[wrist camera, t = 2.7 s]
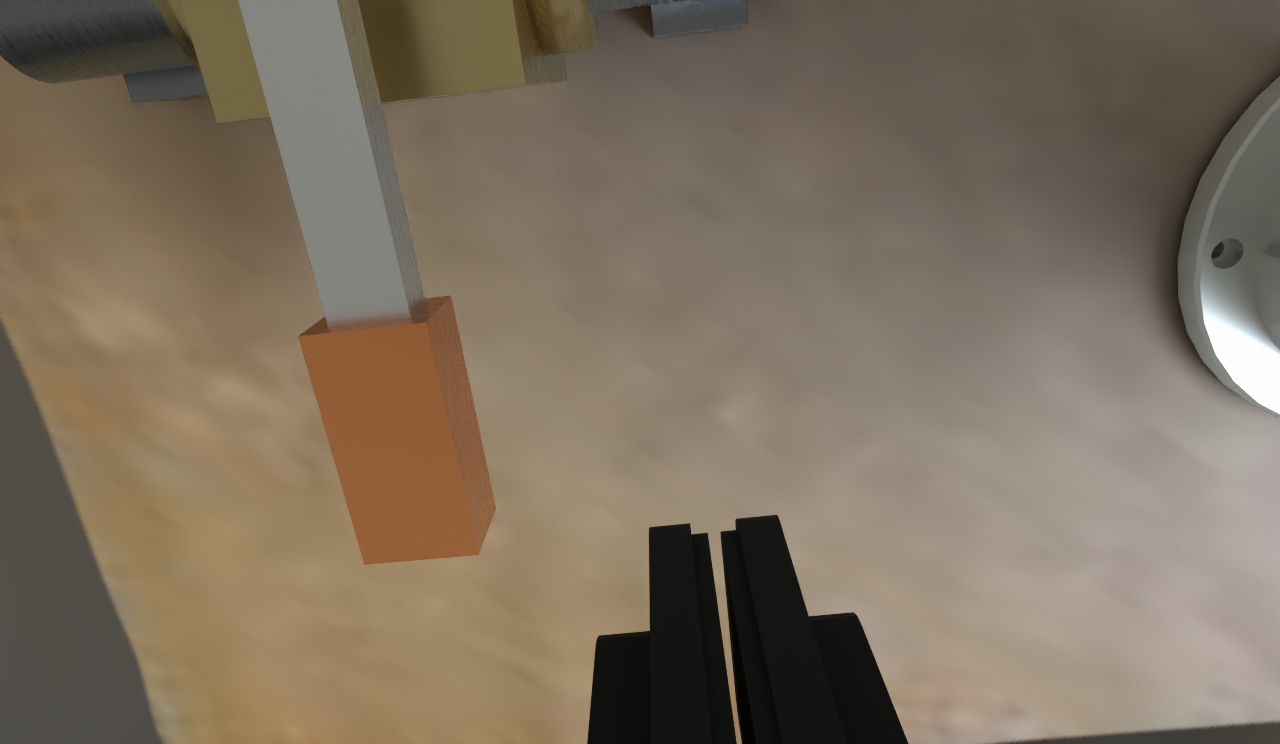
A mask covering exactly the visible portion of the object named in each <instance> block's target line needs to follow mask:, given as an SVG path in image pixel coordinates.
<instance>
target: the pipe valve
mask: <svg viewBox="0 0 1280 744" xmlns="http://www.w3.org/2000/svg"><path fill="white" fill-rule="evenodd" d="M358 2H359V6H360V11H361V15H362V20H363V24H364V29H365V33H366V37H367V42H368V46H369V51H370V55H371V60H372V64H373V69H374V73H375V78H376V82H377V86H378V91H379V95H380V100H381V104H386V103H394V102H402V101H410V100H418V99H426V98H434V97H442V96H450V95H458V94H466V93H474V92H482V91H490V90H498V89H505V88H513V87H521V86H529V85H537V84H545V83H553V82H561V81H567V78H566V71H565V64H564V57H563V54H564V53H572V52H580V51H588V50H595V49H597V47H598V19H597V12H603V11H610V10H618V9H625V8H633V7H641V6H648V5H651V13H652V23H653V33H654V39H657V38H665V37H673V36H680V35H688V34H696V33H704V32H712V31H719V30H727V29H735V28H741V27H743V26H745V25H746V24H748V15H747V0H358ZM0 55H1V56H2V57H3V58H4V59H5V60H6V61H7V62H9V63H10V64H11V65H12V66H13V67H15V68H16V69H18V70H19V71H21V72H22V73H24V74H26V75H27V76H29V77H31V78H34V79H36V80H39V81H42V82H46V83H62V82H69V81H77V80H84V79H92V78H100V77H107V76H115V75H124V78H125V81H126V84H127V87H128V90H129V93H130V96H131V99H132V102H133V103H136V102H154V101H171V100H182V99H190V98H197V97H205V96H209V99H210V102H211V105H212V109H213V112H214V115H215V119H216V122H217V123H224V122H233V121H241V120H250V119H259V118H268V117H270V114H269V110H268V107H267V103H266V99H265V96H264V92H263V89H262V85H261V81H260V78H259V74H258V70H257V67H256V63H255V59H254V56H253V52H252V49H251V45H250V41H249V38H248V34H247V30H246V27H245V23H244V19H243V16H242V12H241V8H240V5H239V1H238V0H0Z"/></svg>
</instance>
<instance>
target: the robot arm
mask: <svg viewBox="0 0 1280 744" xmlns="http://www.w3.org/2000/svg"><path fill="white" fill-rule="evenodd" d="M1178 298H1179V302H1180V306H1181V310H1182V314H1183V318H1184V323H1185V327H1186V331H1187V333H1188V335H1189V337H1190V339H1191V340H1192V342H1193V344H1194V346H1195V348H1196V350H1197V352H1198V354H1199V356H1200V358H1201V360H1202V361H1203V362H1204V363H1205V364H1206V365H1207V367H1208V368H1209V369H1210V370H1211V371H1212V372H1213V373H1214V374H1215V376H1216V377H1217V378H1218V379H1219V380H1220V381H1221V382H1222V383H1223V384H1224V385H1225V386H1227V387H1228V388H1229V389H1231V390H1232V391H1234V392H1235V393H1237V394H1238V395H1240V396H1241V397H1243V398H1244V399H1246V400H1247V401H1249V402H1250V403H1252V404H1254V405H1256V406H1257V407H1259V408H1261V409H1263V410H1265V411H1267V412H1269V413H1270V414H1272V415H1274V416H1276V417H1278V418H1280V76H1279V77H1278V78H1277V79H1276V80H1275V81H1274V82H1273V83H1272V84H1270V85H1269V86H1268V87H1267V88H1266V89H1265V90H1264V91H1263V92H1262V93H1261V94H1260V95H1259V96H1258V97H1257V98H1256V99H1255V100H1254V101H1253V102H1252V104H1251V105H1250V106H1249V107H1248V109H1247V110H1246V111H1245V112H1244V114H1243V115H1242V116H1241V117H1240V119H1239V120H1238V121H1237V122H1236V124H1235V125H1234V126H1233V127H1232V129H1231V130H1230V131H1229V132H1228V134H1227V135H1226V136H1225V137H1224V139H1223V141H1222V143H1221V144H1220V146H1219V148H1218V149H1217V151H1216V153H1215V155H1214V156H1213V158H1212V160H1211V162H1210V163H1209V165H1208V167H1207V168H1206V170H1205V172H1204V174H1203V175H1202V177H1201V179H1200V182H1199V184H1198V187H1197V190H1196V192H1195V195H1194V198H1193V200H1192V203H1191V205H1190V208H1189V211H1188V213H1187V216H1186V219H1185V223H1184V228H1183V234H1182V239H1181V245H1180V250H1179V255H1178ZM735 522H736V530H732V531H722V532H721V544H722V554H723V565H724V576H725V587H726V597H727V608H728V619H729V630H730V641H731V651H732V662H733V673H734V684H735V694H736V703H737V712H738V719H739V726H740V733H741V740H742V744H908V742H907V739H906V737H905V734H904V731H903V729H902V726H901V724H900V721H899V719H898V716H897V714H896V711H895V709H894V706H893V704H892V701H891V698H890V696H889V693H888V691H887V688H886V686H885V683H884V681H883V678H882V676H881V673H880V671H879V668H878V666H877V663H876V660H875V658H874V655H873V653H872V650H871V648H870V645H869V643H868V640H867V638H866V635H865V633H864V630H863V627H862V625H861V623H860V621H859V619H858V617H857V615H856V614H855V613H854V612H852V613H842V614H831V615H820V616H808V613H807V609H806V606H805V603H804V600H803V596H802V593H801V590H800V586H799V583H798V580H797V576H796V573H795V570H794V567H793V563H792V560H791V557H790V553H789V550H788V547H787V543H786V540H785V537H784V534H783V530H782V527H781V524H780V520H779V518H778V516H777V515H771V516H760V517H750V518H740V519H736V521H735ZM649 581H650V631H645V632H634V633H623V634H612V635H601V636H598V638H597V642H596V649H595V661H594V672H593V684H592V696H591V708H590V719H589V731H588V743H587V744H737V743H736V736H735V728H734V721H733V714H732V706H731V699H730V692H729V685H728V677H727V670H726V663H725V656H724V648H723V641H722V634H721V627H720V619H719V612H718V605H717V598H716V590H715V583H714V576H713V569H712V561H711V554H710V547H709V540H708V533H702V534H691V528H690V523H689V524H679V525H668V526H658V527H650V528H649Z"/></svg>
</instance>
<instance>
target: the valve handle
mask: <svg viewBox="0 0 1280 744" xmlns="http://www.w3.org/2000/svg"><path fill="white" fill-rule="evenodd" d="M238 1H239V5H240V8H241V12H242V16H243V19H244V23H245V27H246V30H247V34H248V38H249V41H250V45H251V49H252V52H253V56H254V59H255V63H256V67H257V70H258V74H259V78H260V81H261V85H262V89H263V92H264V96H265V99H266V103H267V107H268V110H269V114H270V118H271V121H272V125H273V129H274V132H275V136H276V139H277V143H278V147H279V150H280V154H281V158H282V161H283V165H284V169H285V172H286V176H287V179H288V183H289V187H290V190H291V194H292V198H293V201H294V205H295V209H296V212H297V216H298V220H299V223H300V227H301V230H302V234H303V238H304V241H305V245H306V249H307V252H308V256H309V260H310V263H311V267H312V270H313V274H314V278H315V281H316V285H317V289H318V292H319V296H320V300H321V303H322V307H323V310H324V314H325V317H324V318H322V319H321V320H320V321H318V322H317V323H316V324H314V325H313V326H311V327H310V328H309V329H307V330H306V331H305V332H303V333H302V334H300V335H299V336H298V337H299V340H300V344H301V347H302V351H303V354H304V358H305V361H306V365H307V368H308V371H309V375H310V378H311V382H312V385H313V389H314V392H315V395H316V399H317V402H318V406H319V409H320V413H321V416H322V420H323V423H324V426H325V430H326V433H327V437H328V440H329V444H330V447H331V451H332V454H333V457H334V461H335V464H336V468H337V471H338V475H339V478H340V481H341V485H342V488H343V492H344V495H345V499H346V502H347V506H348V509H349V512H350V516H351V519H352V523H353V526H354V530H355V533H356V537H357V540H358V543H359V547H360V550H361V554H362V557H363V561H364V564H377V563H388V562H400V561H412V560H423V559H435V558H447V557H458V556H470V555H479V552H480V549H481V547H482V544H483V541H484V539H485V536H486V533H487V531H488V528H489V526H490V523H491V520H492V518H493V515H494V512H495V510H496V506H495V502H494V497H493V492H492V487H491V483H490V478H489V473H488V469H487V464H486V459H485V454H484V450H483V445H482V440H481V435H480V431H479V426H478V421H477V417H476V412H475V407H474V402H473V398H472V393H471V388H470V383H469V379H468V374H467V369H466V365H465V360H464V355H463V350H462V346H461V341H460V336H459V332H458V327H457V322H456V317H455V313H454V308H453V303H452V298H451V296H444V297H435V298H426V299H425V296H424V291H423V287H422V283H421V278H420V274H419V269H418V265H417V260H416V256H415V251H414V247H413V242H412V238H411V234H410V229H409V225H408V220H407V216H406V211H405V207H404V202H403V198H402V193H401V189H400V185H399V180H398V176H397V171H396V167H395V162H394V158H393V153H392V149H391V144H390V140H389V136H388V131H387V127H386V122H385V118H384V113H383V109H382V104H381V100H380V95H379V91H378V86H377V82H376V78H375V73H374V69H373V64H372V60H371V55H370V51H369V46H368V42H367V37H366V33H365V29H364V24H363V20H362V15H361V11H360V6H359V2H358V0H238Z"/></svg>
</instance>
